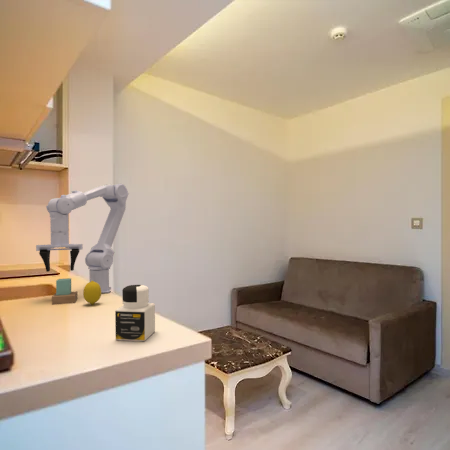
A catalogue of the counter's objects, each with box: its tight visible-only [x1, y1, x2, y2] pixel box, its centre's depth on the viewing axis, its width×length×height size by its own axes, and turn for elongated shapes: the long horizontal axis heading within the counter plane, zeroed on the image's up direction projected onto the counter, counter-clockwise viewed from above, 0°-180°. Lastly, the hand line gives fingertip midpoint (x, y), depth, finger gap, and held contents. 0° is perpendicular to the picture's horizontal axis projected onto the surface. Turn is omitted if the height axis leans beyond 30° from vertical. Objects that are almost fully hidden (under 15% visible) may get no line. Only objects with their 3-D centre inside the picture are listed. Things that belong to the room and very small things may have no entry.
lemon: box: [82, 281, 102, 306], centre depth 110 cm, size 6×6×8 cm
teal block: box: [55, 277, 72, 295], centre depth 115 cm, size 4×4×5 cm
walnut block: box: [51, 291, 78, 305], centre depth 115 cm, size 7×7×3 cm
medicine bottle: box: [114, 284, 156, 342], centre depth 79 cm, size 7×7×12 cm
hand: (60, 270), depth 116 cm, fingers open, 7 cm apart
